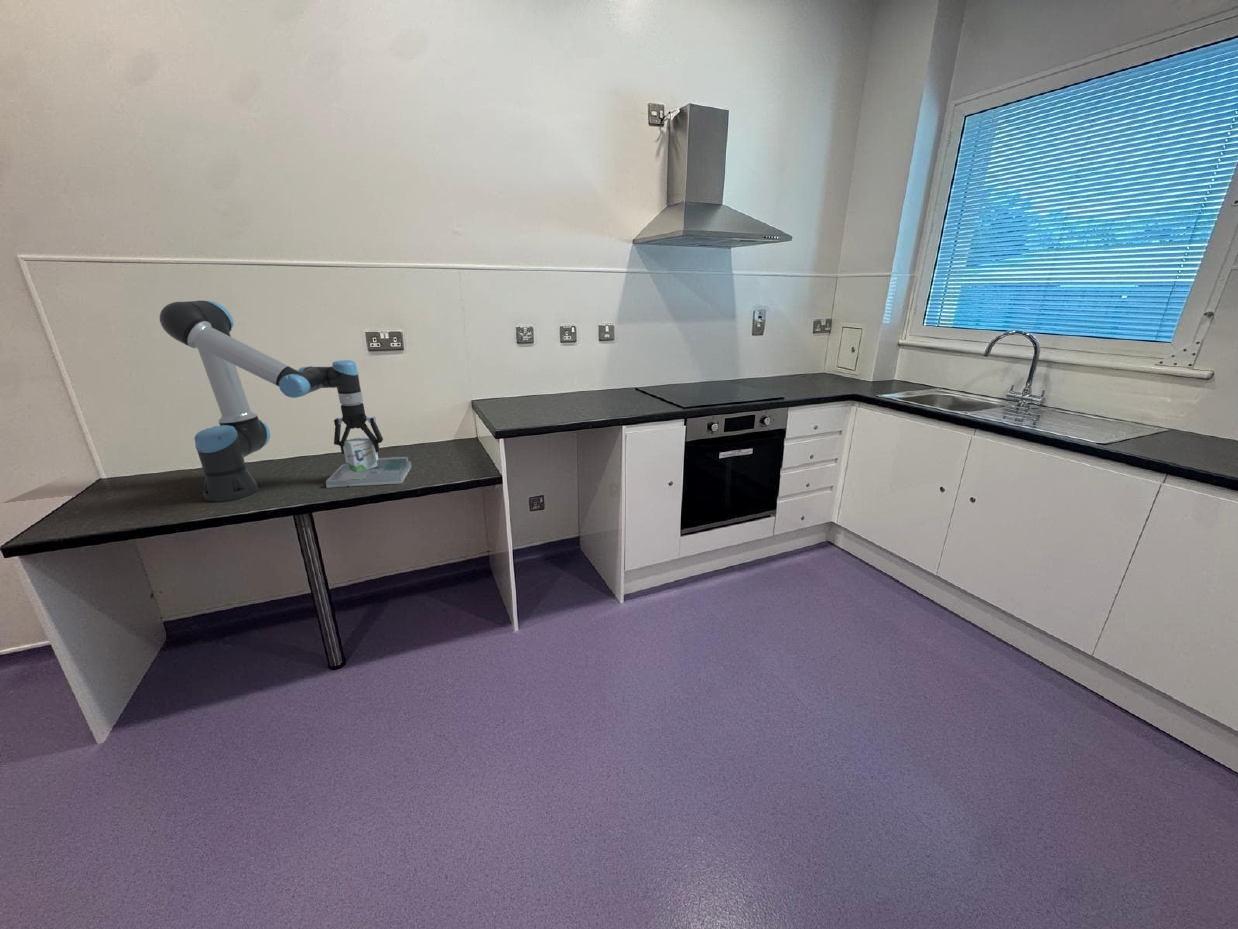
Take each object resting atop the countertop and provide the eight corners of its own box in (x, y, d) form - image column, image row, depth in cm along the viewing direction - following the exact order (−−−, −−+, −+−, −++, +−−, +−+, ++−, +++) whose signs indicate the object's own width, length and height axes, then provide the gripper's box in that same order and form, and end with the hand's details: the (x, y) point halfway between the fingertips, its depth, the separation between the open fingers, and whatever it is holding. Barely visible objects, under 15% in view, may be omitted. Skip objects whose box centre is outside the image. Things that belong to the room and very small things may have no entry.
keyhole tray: (326, 487, 181) (324, 476, 179) (343, 470, 197) (341, 459, 196) (401, 483, 185) (400, 472, 184) (411, 466, 202) (410, 456, 200)
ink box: (371, 463, 194) (366, 435, 190) (378, 466, 191) (373, 437, 187) (349, 470, 188) (343, 440, 184) (355, 473, 185) (350, 443, 181)
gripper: (315, 406, 175) (327, 465, 183) (380, 404, 179) (390, 462, 187) (323, 402, 182) (334, 459, 190) (386, 400, 186) (395, 456, 194)
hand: (362, 460), depth 188 cm, fingers closed on ink box, 9 cm apart
